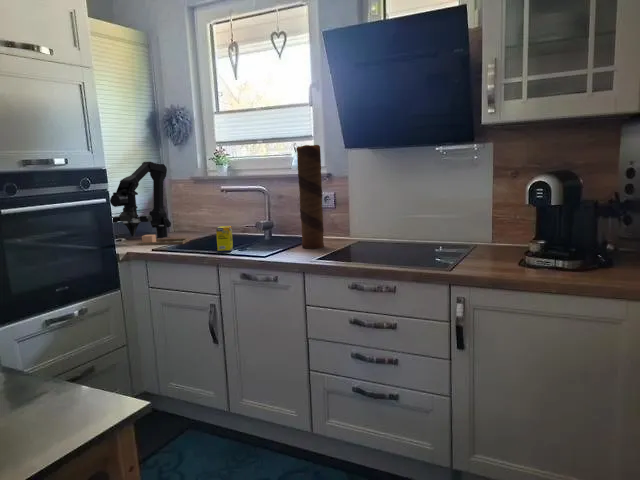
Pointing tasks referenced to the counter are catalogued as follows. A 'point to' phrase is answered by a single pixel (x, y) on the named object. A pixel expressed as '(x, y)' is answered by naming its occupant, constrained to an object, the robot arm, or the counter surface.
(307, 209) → the wafer roll
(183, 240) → the trap lane
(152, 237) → the terracotta block
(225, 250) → the supplement box
